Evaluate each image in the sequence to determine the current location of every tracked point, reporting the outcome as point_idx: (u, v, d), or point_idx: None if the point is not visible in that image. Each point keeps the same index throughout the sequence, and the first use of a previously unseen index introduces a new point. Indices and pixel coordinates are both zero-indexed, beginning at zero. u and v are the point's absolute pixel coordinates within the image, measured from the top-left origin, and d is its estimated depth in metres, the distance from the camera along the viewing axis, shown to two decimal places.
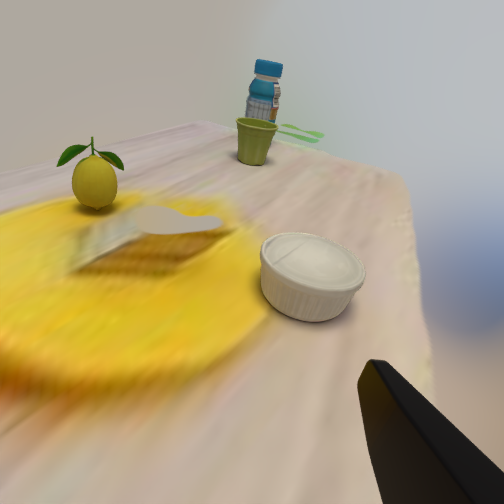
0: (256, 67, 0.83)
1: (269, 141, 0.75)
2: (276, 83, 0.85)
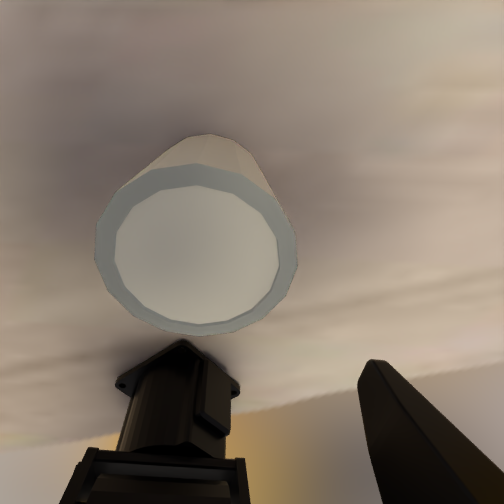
0: None
1: None
2: None
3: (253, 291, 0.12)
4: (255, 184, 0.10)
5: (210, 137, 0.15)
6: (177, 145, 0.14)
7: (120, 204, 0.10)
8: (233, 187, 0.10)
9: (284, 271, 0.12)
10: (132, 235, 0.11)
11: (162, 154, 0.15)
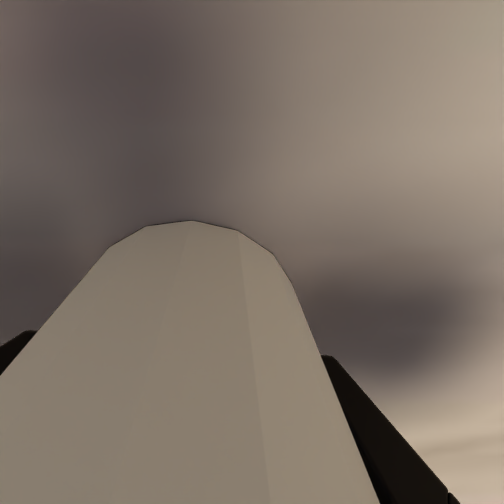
0: None
1: None
2: None
3: None
4: None
5: (189, 241, 0.07)
6: (109, 274, 0.06)
7: None
8: None
9: None
10: None
11: (81, 284, 0.07)
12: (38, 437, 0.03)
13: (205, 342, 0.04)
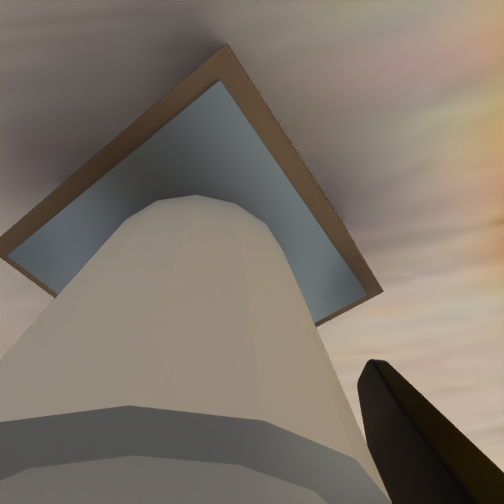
0: None
1: None
2: None
3: None
4: (301, 433, 0.04)
5: (194, 208, 0.08)
6: (131, 233, 0.08)
7: None
8: (240, 450, 0.04)
9: None
10: None
11: (106, 244, 0.08)
12: (94, 318, 0.05)
13: (209, 270, 0.06)
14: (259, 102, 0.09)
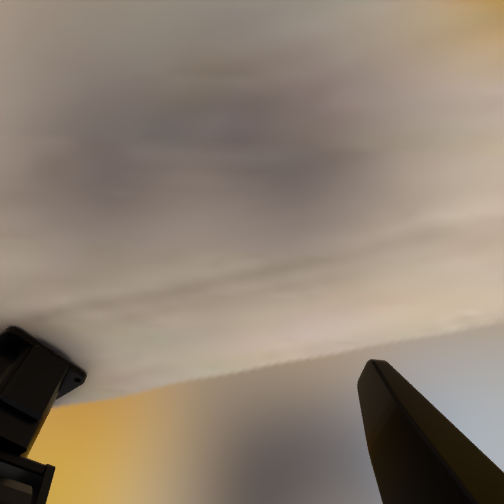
0: None
1: None
2: None
3: None
4: None
5: None
6: None
7: None
8: None
9: None
10: None
11: None
12: None
13: None
14: None
